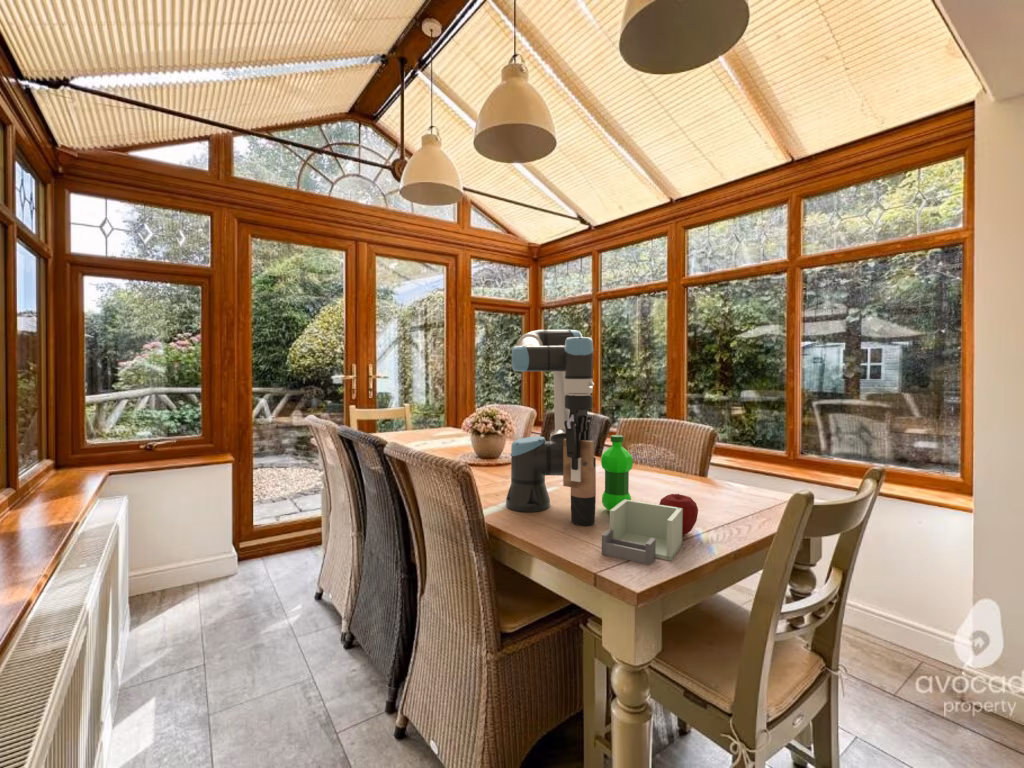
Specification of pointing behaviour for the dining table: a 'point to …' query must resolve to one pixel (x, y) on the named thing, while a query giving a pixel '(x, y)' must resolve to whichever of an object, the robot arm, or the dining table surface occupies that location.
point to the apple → (688, 509)
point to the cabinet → (643, 532)
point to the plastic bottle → (616, 473)
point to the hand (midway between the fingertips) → (578, 479)
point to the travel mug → (583, 504)
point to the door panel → (586, 466)
